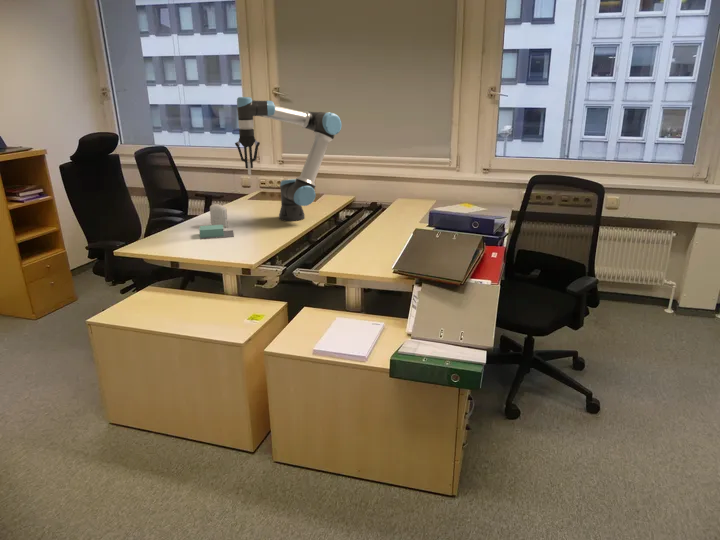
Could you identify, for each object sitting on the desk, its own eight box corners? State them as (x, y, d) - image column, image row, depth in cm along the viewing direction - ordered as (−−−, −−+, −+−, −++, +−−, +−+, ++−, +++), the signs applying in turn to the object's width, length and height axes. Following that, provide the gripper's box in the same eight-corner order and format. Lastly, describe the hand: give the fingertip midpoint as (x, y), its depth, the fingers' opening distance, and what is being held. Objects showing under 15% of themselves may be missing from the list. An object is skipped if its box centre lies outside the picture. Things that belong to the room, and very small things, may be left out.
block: (223, 224, 283) (199, 226, 281) (223, 228, 275) (199, 230, 272) (223, 231, 285) (200, 233, 282) (223, 236, 276) (200, 237, 274)
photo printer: (229, 226, 297) (227, 204, 293) (223, 228, 293) (221, 206, 289) (215, 224, 302) (213, 202, 298) (210, 225, 298) (208, 204, 294)
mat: (233, 230, 288) (233, 230, 288) (233, 236, 276) (233, 236, 276) (200, 232, 284) (200, 232, 284) (200, 239, 272) (200, 238, 272)
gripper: (258, 127, 276) (261, 172, 284) (233, 128, 273) (236, 174, 281) (259, 128, 269) (262, 175, 277) (233, 129, 266) (237, 176, 274)
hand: (249, 174), depth 279 cm, fingers closed
